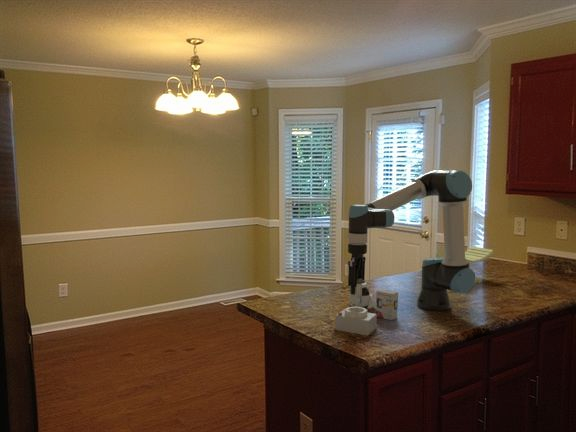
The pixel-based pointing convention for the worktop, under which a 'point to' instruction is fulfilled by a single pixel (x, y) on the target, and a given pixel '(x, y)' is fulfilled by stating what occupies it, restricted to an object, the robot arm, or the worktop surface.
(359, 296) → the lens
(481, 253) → the slatted curved stool
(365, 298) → the spread jar
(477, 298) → the worktop surface
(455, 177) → the robot arm
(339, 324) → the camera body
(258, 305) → the worktop surface
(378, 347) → the worktop surface
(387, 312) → the ink box
